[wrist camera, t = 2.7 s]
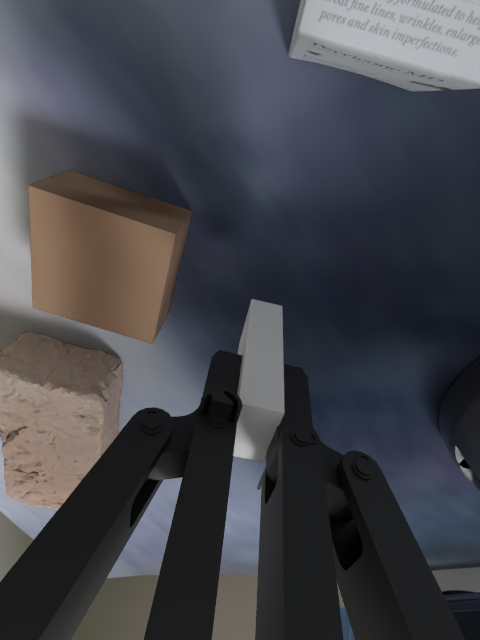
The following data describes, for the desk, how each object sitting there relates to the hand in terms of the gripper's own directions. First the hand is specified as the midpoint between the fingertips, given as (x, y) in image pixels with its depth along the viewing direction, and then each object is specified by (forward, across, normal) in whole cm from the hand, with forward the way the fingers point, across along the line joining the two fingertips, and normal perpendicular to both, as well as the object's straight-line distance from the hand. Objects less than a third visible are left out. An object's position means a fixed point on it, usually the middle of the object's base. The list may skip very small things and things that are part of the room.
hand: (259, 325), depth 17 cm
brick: (+6, +13, +17) cm, 22 cm away
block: (+6, +9, 0) cm, 10 cm away
